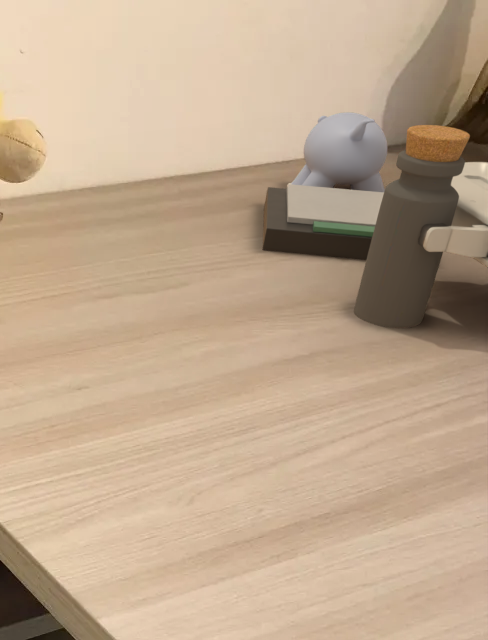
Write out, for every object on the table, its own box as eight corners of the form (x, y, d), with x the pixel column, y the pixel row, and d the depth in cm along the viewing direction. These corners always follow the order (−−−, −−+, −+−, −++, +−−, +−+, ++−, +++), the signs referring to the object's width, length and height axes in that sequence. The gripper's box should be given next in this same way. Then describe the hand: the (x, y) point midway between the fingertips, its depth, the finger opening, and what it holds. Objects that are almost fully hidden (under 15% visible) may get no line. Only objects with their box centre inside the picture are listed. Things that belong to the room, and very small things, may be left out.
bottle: (382, 335, 88) (436, 143, 78) (338, 310, 92) (384, 125, 82) (436, 326, 89) (494, 137, 80) (390, 302, 94) (441, 120, 84)
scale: (412, 223, 112) (420, 194, 110) (427, 269, 101) (437, 237, 99) (263, 209, 114) (268, 181, 113) (261, 253, 103) (267, 221, 101)
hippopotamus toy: (369, 179, 125) (391, 92, 119) (394, 217, 114) (419, 121, 108) (280, 174, 126) (297, 87, 120) (295, 211, 114) (314, 116, 108)
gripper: (615, 303, 81) (452, 308, 79) (482, 222, 97) (343, 224, 95) (650, 220, 77) (480, 223, 75) (505, 149, 93) (361, 150, 91)
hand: (403, 223), depth 85 cm, fingers closed on bottle, 6 cm apart
